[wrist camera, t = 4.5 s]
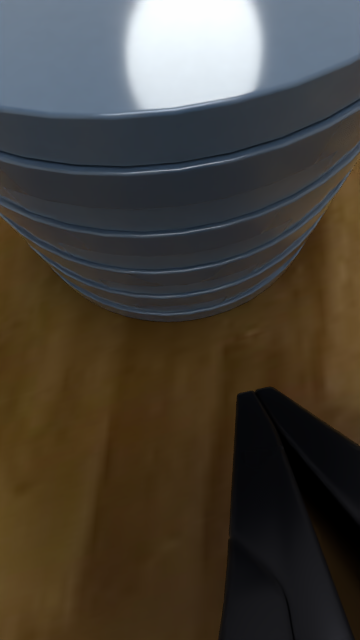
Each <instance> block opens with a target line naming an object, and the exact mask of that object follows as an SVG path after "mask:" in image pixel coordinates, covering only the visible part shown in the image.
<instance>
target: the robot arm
mask: <svg viewBox="0 0 360 640" xmlns="http://www.w3.org/2000/svg"><path fill="white" fill-rule="evenodd" d="M229 537H230V538H229V540H228V556H227V570H226V581H225V593H224V603H223V610H222V617H221V624H220V631H219V638H218V640H360V446H359V445H358V444H356V443H355V442H353V441H352V440H350V439H349V438H347V437H346V436H344V435H343V434H341V433H340V432H339V431H337V430H336V429H334V428H333V427H331V426H330V425H328V424H327V423H325V422H324V421H322V420H321V419H319V418H318V417H316V416H315V415H313V414H312V413H310V412H309V411H308V410H306V409H305V408H303V407H302V406H300V405H299V404H297V403H296V402H294V401H293V400H291V399H290V398H288V397H287V396H285V395H284V394H282V393H281V392H279V391H278V390H277V389H275V388H273V387H265V388H261V389H257V390H256V391H255V392H254V391H247V392H242V393H239V394H238V395H237V402H236V419H235V437H234V454H233V472H232V490H231V507H230V525H229Z"/></svg>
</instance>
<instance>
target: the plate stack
mask: <svg viewBox="0 0 360 640" xmlns="http://www.w3.org/2000/svg"><path fill="white" fill-rule="evenodd" d="M359 158H360V0H0V216H1V217H2V218H3V219H4V220H5V221H6V222H7V223H8V224H9V225H10V227H11V228H12V229H13V230H14V231H15V232H16V233H18V234H19V235H20V236H21V237H22V238H23V239H24V240H25V241H26V242H27V243H28V244H29V245H30V247H31V248H32V249H33V250H34V251H35V252H36V253H37V254H38V255H39V256H40V257H41V258H42V259H43V260H44V261H45V262H46V263H47V264H48V265H49V266H50V267H51V268H52V269H53V271H54V272H55V273H56V274H57V275H58V276H59V277H60V278H61V279H62V280H63V281H64V282H65V283H67V284H68V285H69V286H70V287H71V288H72V289H73V290H74V291H75V292H77V293H78V294H80V295H81V296H83V297H84V298H86V299H87V300H89V301H90V302H92V303H94V304H96V305H98V306H100V307H102V308H104V309H106V310H108V311H111V312H114V313H117V314H120V315H123V316H126V317H131V318H136V319H141V320H147V321H161V322H174V321H189V320H194V319H200V318H205V317H210V316H213V315H216V314H219V313H222V312H225V311H228V310H231V309H233V308H235V307H237V306H239V305H241V304H243V303H246V302H248V301H249V300H251V299H252V298H254V297H255V296H257V295H259V294H260V293H262V292H263V291H265V290H266V289H267V288H268V287H269V286H270V285H272V284H273V283H274V282H275V281H276V280H277V279H279V278H280V277H281V275H282V274H283V273H284V272H285V271H286V270H287V269H288V267H289V266H290V265H291V264H292V262H293V261H294V259H295V258H296V256H297V255H298V253H299V252H300V250H301V249H302V247H303V245H304V244H305V242H306V241H307V239H308V238H309V236H310V235H311V233H312V231H313V230H314V228H315V227H316V225H317V224H318V222H319V221H320V219H321V218H322V216H323V214H324V213H325V211H326V210H327V208H328V206H329V205H330V203H331V202H332V200H333V199H334V197H335V196H336V194H337V193H338V191H339V190H340V188H341V186H342V185H343V183H344V182H345V180H346V179H347V177H348V176H349V174H350V172H351V170H352V168H353V167H354V166H355V164H356V163H357V161H358V160H359Z"/></svg>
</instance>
